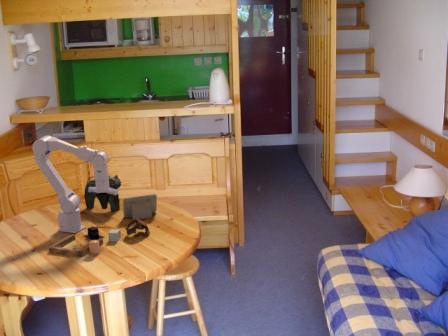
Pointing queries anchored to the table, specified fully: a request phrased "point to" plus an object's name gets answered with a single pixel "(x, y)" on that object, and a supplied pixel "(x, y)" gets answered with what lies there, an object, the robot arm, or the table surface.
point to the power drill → (90, 196)
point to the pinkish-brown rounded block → (94, 247)
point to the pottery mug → (137, 226)
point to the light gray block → (114, 235)
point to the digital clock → (140, 206)
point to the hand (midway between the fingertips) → (104, 208)
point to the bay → (57, 249)
